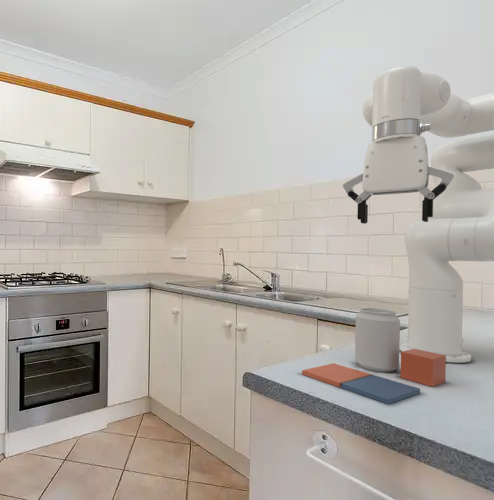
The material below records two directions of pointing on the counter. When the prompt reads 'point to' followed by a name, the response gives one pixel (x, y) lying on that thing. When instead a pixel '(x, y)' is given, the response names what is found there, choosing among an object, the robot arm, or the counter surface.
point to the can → (377, 339)
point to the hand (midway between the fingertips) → (393, 222)
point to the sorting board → (362, 383)
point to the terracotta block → (423, 367)
